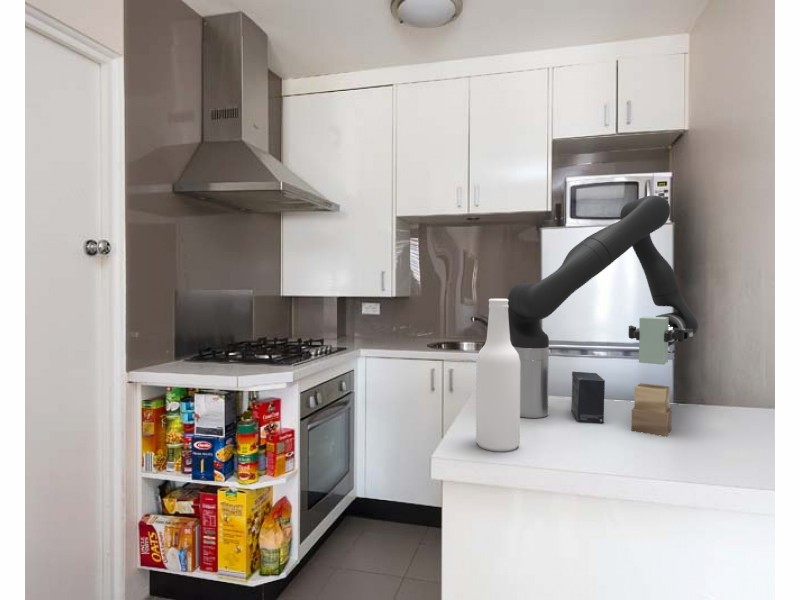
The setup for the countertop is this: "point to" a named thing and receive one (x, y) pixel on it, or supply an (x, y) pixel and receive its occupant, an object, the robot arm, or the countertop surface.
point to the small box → (588, 397)
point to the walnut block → (652, 422)
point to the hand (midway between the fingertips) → (651, 336)
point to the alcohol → (498, 384)
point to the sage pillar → (653, 340)
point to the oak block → (652, 397)
